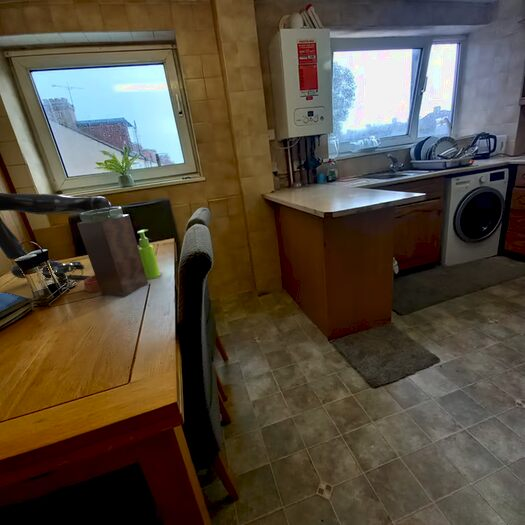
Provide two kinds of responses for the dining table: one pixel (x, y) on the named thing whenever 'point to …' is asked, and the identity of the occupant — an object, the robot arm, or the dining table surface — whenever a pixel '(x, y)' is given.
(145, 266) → the soap dispenser
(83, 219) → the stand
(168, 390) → the dining table surface
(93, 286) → the brown handled piece
